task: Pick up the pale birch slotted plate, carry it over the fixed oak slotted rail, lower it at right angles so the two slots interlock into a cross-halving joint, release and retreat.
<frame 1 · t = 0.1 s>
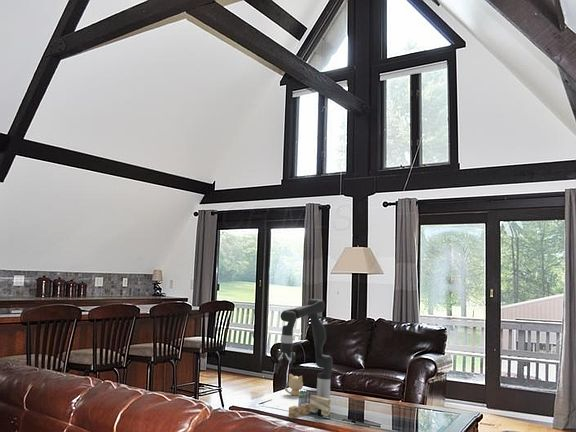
hand: (285, 367, 332), 29 cm above the table, fingers open, 8 cm apart
kitten: (295, 395, 382), on the table
oak slotted rail: (299, 415, 329), on the table
birch slotted plate: (319, 413, 337), on the table
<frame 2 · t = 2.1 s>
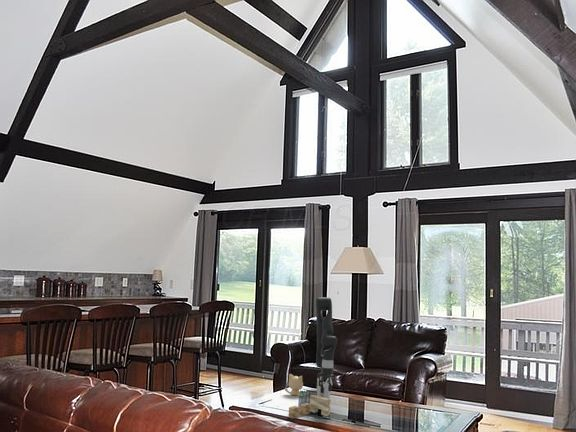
hand: (325, 392, 336), 14 cm above the table, fingers open, 8 cm apart
nothing on the table moved.
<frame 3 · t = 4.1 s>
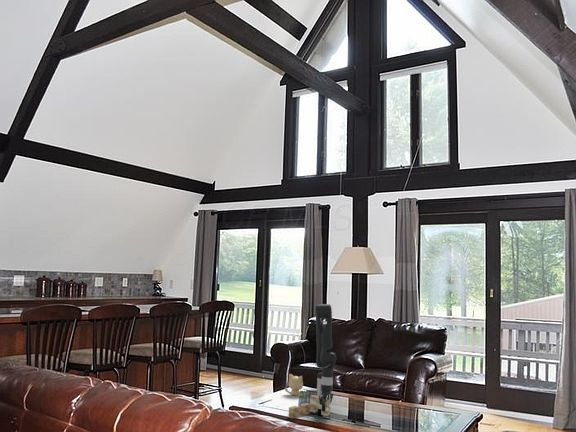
hand: (325, 410, 335), 3 cm above the table, fingers closed on birch slotted plate, 3 cm apart
birch slotted plate: (319, 413, 337), on the table, touching gripper
everything else where it was.
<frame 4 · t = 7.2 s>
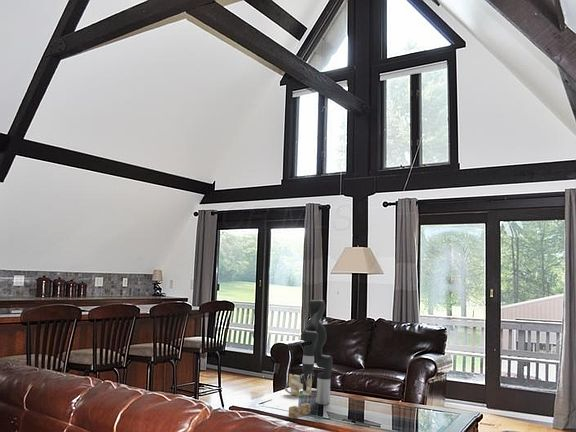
hand: (306, 389, 328), 17 cm above the table, fingers closed on birch slotted plate, 3 cm apart
birch slotted plate: (300, 392, 331), point 14 cm above the table, touching gripper
everything else where it was.
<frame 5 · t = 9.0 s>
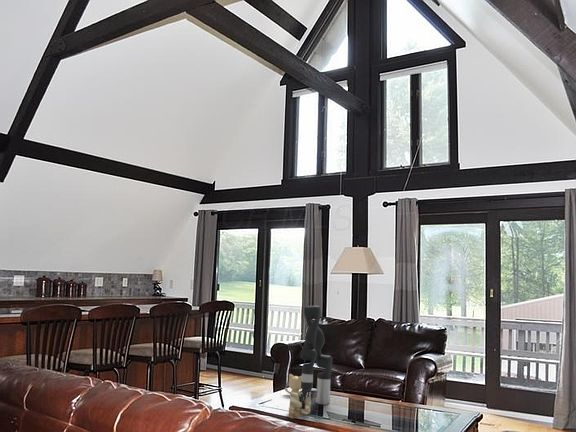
hand: (305, 408, 327), 5 cm above the table, fingers closed on birch slotted plate, 3 cm apart
birch slotted plate: (299, 411, 329), point 3 cm above the table, touching gripper
everything else where it was.
when the fingers open (4 cm above the table, at t = 10.3 s): birch slotted plate drops 1 cm, on the table.
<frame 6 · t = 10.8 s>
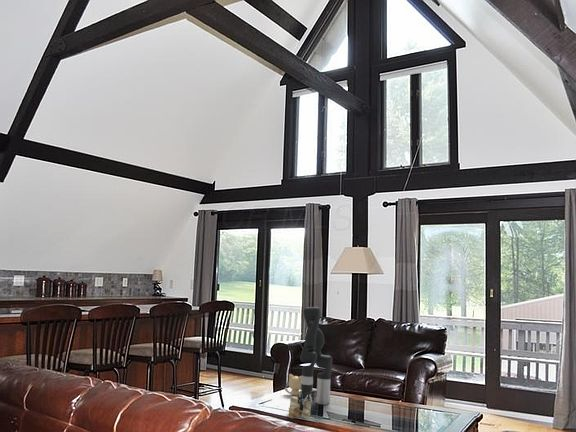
hand: (305, 409, 327), 5 cm above the table, fingers open, 8 cm apart
birch slotted plate: (299, 415, 329), on the table
everything else where it was.
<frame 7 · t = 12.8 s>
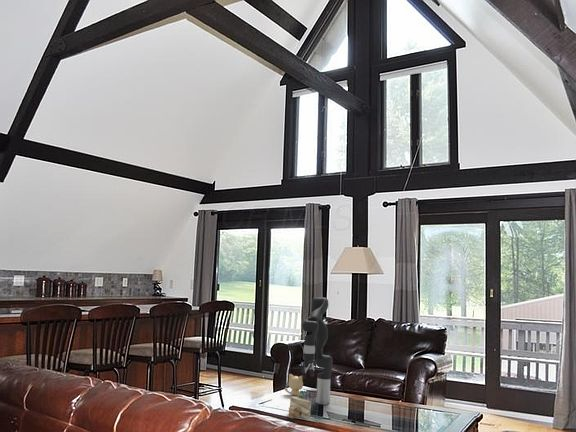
hand: (307, 377, 332), 24 cm above the table, fingers open, 8 cm apart
nothing on the table moved.
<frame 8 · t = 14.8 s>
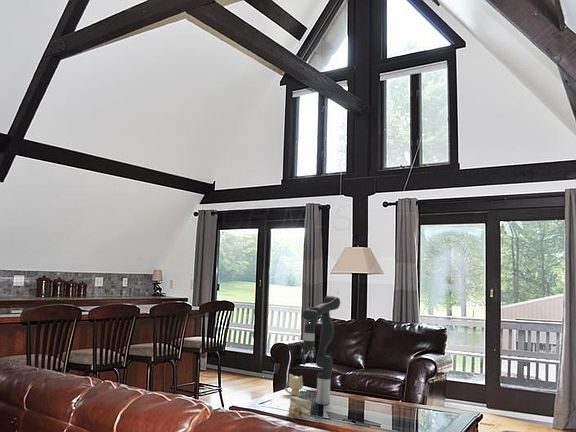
hand: (307, 364, 344), 30 cm above the table, fingers open, 8 cm apart
nothing on the table moved.
at the end: birch slotted plate 0.2 cm off-centre on the oak slotted rail, point 0.0 cm above the oak slotted rail's base; birch slotted plate tilted 0°; the gripper is holding nothing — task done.
